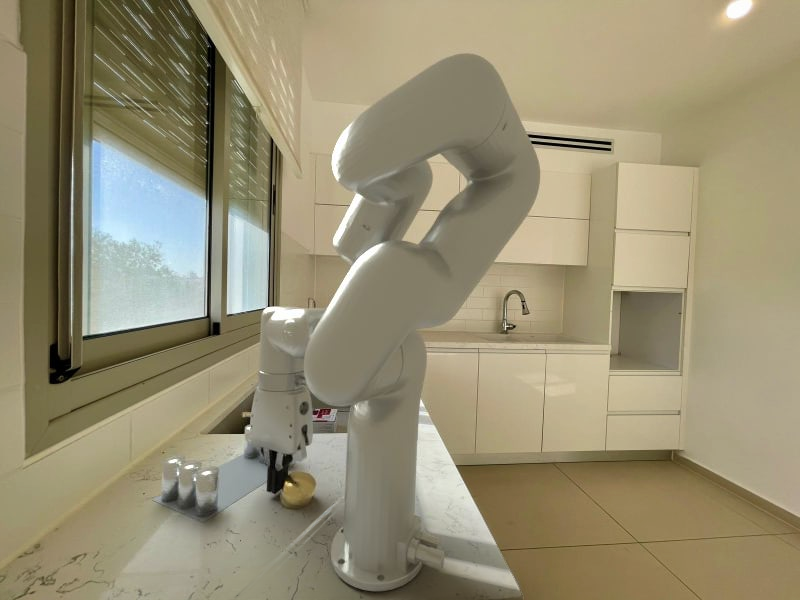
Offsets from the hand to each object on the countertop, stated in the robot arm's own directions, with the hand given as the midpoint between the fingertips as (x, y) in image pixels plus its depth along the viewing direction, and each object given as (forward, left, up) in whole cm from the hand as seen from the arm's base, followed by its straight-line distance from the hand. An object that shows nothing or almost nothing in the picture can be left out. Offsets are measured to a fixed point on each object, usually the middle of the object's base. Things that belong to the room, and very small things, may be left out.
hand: (277, 488), depth 55 cm
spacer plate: (+10, 0, -2) cm, 10 cm away
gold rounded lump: (-4, 0, -1) cm, 4 cm away
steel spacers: (+10, 0, -2) cm, 10 cm away
